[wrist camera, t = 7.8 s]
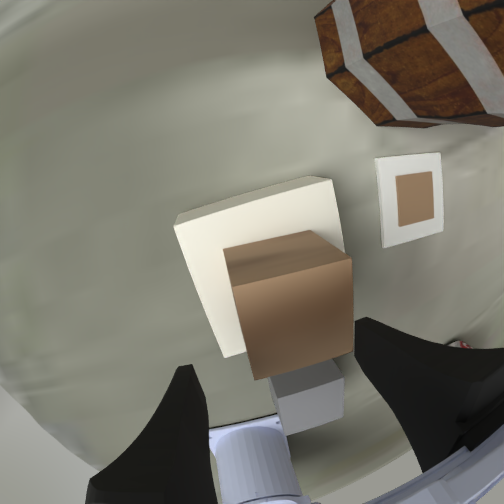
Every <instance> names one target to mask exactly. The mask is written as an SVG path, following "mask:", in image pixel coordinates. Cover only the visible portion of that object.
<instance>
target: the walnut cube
mask: <svg viewBox="0 0 504 504" xmlns="http://www.w3.org/2000/svg"><path fill="white" fill-rule="evenodd" d="M223 253H224V258H225V262H226V267H227V271H228V276H229V280H230V284H231V289H232V293H233V298H234V302H235V306H236V311H237V315H238V319H239V323H240V327H241V331H242V335H243V339H244V343H245V347H246V350H247V354H248V358H249V362H250V365H251V369H252V373H253V377H254V380H259V379H263V378H267V377H271V376H274V375H278V374H282V373H286V372H289V371H293V370H296V369H300V368H303V367H307V366H310V365H313V364H316V363H320V362H323V361H326V360H329V359H332V358H335V357H338V356H341V355H344V354H347V353H350V352H353V274H352V258H351V257H350V256H348V255H347V254H345V253H344V252H342V251H341V250H340V249H338V248H337V247H335V246H334V245H332V244H331V243H329V242H328V241H326V240H325V239H323V238H322V237H320V236H319V235H317V234H316V233H314V232H313V231H311V230H307V231H302V232H297V233H293V234H288V235H284V236H279V237H274V238H270V239H265V240H261V241H256V242H252V243H247V244H243V245H238V246H234V247H229V248H224V249H223Z"/></svg>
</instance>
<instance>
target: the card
mask: <svg viewBox="0 0 504 504" xmlns="http://www.w3.org/2000/svg"><path fill="white" fill-rule="evenodd" d="M375 166H376V175H377V184H378V195H379V207H380V222H381V242H382V247H383V248H388V247H391V246H395V245H398V244H401V243H405V242H408V241H412V240H415V239H418V238H422V237H425V236H429V235H432V234H435V233H438V232H442V231H443V225H444V211H443V181H442V167H441V155H440V152H434V153H421V154H409V155H399V156H389V157H380V158H375Z"/></svg>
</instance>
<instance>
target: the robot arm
mask: <svg viewBox="0 0 504 504" xmlns="http://www.w3.org/2000/svg"><path fill="white" fill-rule="evenodd" d="M354 356H355V358H356V360H357V362H358V363H359V365H360V367H361V369H362V370H363V372H364V374H365V375H366V376H367V378H368V379H369V380H370V382H371V383H372V384H373V385H374V387H375V388H376V389H377V391H378V392H379V393H380V394H381V396H382V397H383V398H384V400H385V401H386V402H387V403H388V405H389V406H390V408H391V409H392V411H393V412H394V414H395V416H396V418H397V419H398V421H399V423H400V424H401V426H402V428H403V430H404V432H405V434H406V436H407V438H408V440H409V442H410V444H411V446H412V448H413V450H414V453H415V455H416V457H417V459H418V462H419V465H420V467H421V470H422V472H423V474H421V475H419V476H418V477H416V478H414V479H412V480H411V481H409V482H407V483H405V484H403V485H401V486H400V487H397V488H395V489H394V490H392V491H390V492H388V493H386V494H383V495H381V496H379V497H377V498H375V499H373V500H370V501H368V502H366V503H363V504H476V503H475V502H477V501H478V500H479V499H480V498H481V497H482V496H484V495H485V494H486V493H487V492H488V491H490V490H491V489H492V488H493V487H494V486H495V485H496V484H497V483H498V482H499V481H500V480H502V479H503V478H504V348H494V349H471V348H461V347H453V346H448V345H443V344H438V343H434V342H430V341H427V340H424V339H421V338H418V337H415V336H412V335H409V334H407V333H404V332H401V331H399V330H397V329H394V328H392V327H390V326H387V325H385V324H383V323H380V322H378V321H376V320H373V319H371V318H368V317H365V318H362V319H359V320H356V321H355V347H354ZM209 447H210V448H209ZM210 449H211V451H212V452H213V454H214V456H215V457H216V460H217V467H218V475H219V482H220V489H221V496H222V502H223V504H321V503H318V502H314V503H311V500H310V498H309V495H306V496H303V494H302V491H301V489H300V486H299V483H298V480H297V477H296V474H295V472H294V469H293V466H292V463H291V460H290V458H291V456H290V451H289V447H288V442H287V437H286V436H285V434H284V431H283V428H282V425H281V422H280V419H279V416H278V414H276V415H272V416H268V417H264V418H260V419H256V420H252V421H248V422H244V423H239V424H234V425H229V426H224V427H219V428H214V429H209V419H208V410H207V404H206V397H205V395H204V392H203V390H202V387H201V385H200V383H199V380H198V378H197V375H196V373H195V370H194V368H193V365H192V364H190V365H184V366H179V367H178V368H177V369H176V372H175V374H174V376H173V378H172V381H171V383H170V385H169V387H168V389H167V391H166V393H165V395H164V397H163V399H162V401H161V403H160V404H159V406H158V408H157V409H156V411H155V413H154V414H153V416H152V418H151V419H150V421H149V422H148V424H147V425H146V427H145V428H144V429H143V431H142V432H141V433H140V435H139V436H138V437H137V438H136V439H135V440H134V442H133V443H132V444H131V445H130V446H129V447H128V448H127V449H126V450H125V451H124V452H123V453H122V454H121V455H120V456H119V457H118V458H117V459H116V460H114V461H113V462H112V463H111V464H110V465H108V466H107V467H106V468H105V469H103V470H102V471H100V472H99V473H98V474H96V475H95V476H93V477H92V478H90V480H89V484H88V488H87V494H86V501H85V504H218V502H217V497H216V492H215V488H214V482H213V477H212V471H211V464H210Z"/></svg>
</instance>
